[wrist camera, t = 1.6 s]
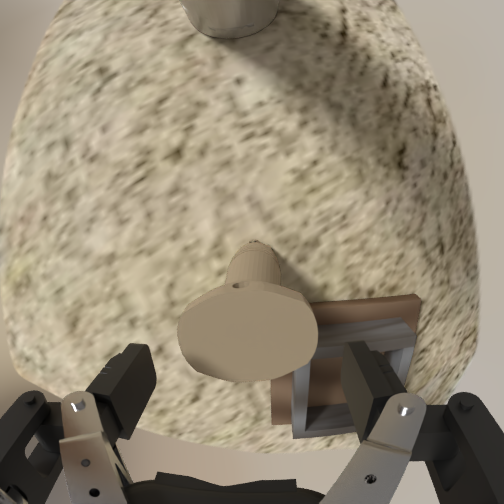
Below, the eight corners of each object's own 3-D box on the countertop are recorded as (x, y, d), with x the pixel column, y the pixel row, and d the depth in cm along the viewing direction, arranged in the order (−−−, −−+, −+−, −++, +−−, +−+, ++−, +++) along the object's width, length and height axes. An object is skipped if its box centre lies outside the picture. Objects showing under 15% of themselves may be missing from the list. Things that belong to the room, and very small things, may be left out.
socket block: (268, 304, 28) (269, 332, 23) (415, 293, 28) (440, 315, 22) (271, 416, 32) (271, 448, 27) (390, 402, 31) (403, 430, 26)
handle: (218, 234, 27) (167, 298, 12) (287, 226, 26) (315, 283, 12) (226, 283, 28) (190, 383, 13) (292, 276, 28) (318, 374, 13)
